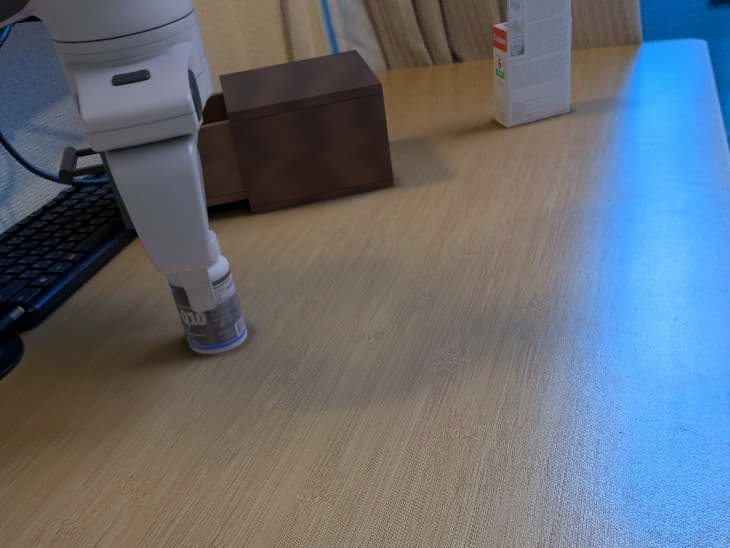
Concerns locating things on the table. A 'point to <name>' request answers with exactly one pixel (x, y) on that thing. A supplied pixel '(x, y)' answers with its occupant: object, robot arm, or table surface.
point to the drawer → (214, 153)
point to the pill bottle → (221, 323)
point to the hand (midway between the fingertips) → (202, 278)
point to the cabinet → (308, 130)
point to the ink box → (532, 61)
